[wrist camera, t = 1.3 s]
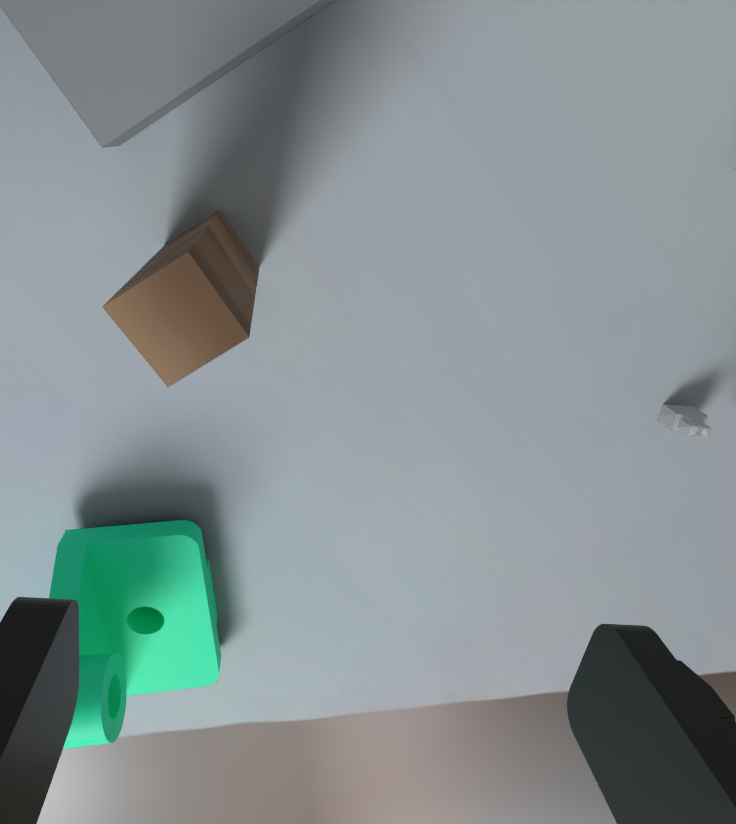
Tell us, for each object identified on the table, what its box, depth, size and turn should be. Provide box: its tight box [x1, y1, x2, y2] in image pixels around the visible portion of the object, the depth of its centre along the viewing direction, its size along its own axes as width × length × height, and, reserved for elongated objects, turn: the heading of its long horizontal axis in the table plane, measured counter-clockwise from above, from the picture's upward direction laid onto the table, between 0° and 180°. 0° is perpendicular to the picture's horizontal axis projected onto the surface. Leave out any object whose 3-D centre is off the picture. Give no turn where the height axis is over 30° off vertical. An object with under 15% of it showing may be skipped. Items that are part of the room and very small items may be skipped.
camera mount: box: [49, 520, 221, 749], centre depth 35 cm, size 12×8×10 cm, turn 1°
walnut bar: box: [103, 210, 259, 387], centre depth 26 cm, size 3×3×12 cm
